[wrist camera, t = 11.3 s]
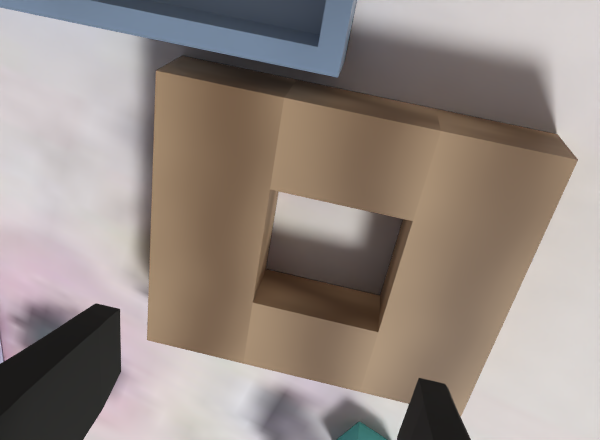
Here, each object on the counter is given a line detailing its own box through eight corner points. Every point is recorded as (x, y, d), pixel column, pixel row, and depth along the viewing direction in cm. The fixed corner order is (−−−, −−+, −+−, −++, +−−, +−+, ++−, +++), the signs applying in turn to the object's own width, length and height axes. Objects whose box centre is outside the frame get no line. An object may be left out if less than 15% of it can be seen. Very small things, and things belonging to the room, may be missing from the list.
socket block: (168, 305, 26) (146, 340, 24) (181, 55, 20) (155, 70, 18) (455, 374, 25) (460, 416, 23) (557, 134, 19) (577, 159, 17)
